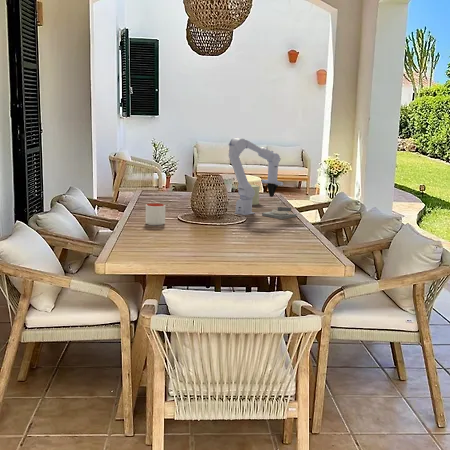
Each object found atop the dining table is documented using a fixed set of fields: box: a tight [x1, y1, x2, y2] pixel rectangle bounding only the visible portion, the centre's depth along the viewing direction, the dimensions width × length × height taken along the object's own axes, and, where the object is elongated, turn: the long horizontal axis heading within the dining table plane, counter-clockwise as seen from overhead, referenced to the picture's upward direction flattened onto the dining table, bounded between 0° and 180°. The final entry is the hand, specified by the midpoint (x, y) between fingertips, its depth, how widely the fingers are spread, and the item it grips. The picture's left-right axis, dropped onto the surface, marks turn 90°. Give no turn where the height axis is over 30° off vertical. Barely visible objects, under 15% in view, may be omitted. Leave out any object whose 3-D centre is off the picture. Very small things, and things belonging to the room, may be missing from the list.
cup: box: [145, 202, 166, 226], centre depth 310 cm, size 10×10×10 cm
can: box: [250, 184, 260, 206], centre depth 389 cm, size 9×9×12 cm
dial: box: [271, 206, 292, 215], centre depth 348 cm, size 11×9×4 cm
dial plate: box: [261, 210, 297, 220], centre depth 349 cm, size 14×14×2 cm
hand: (271, 196), depth 358 cm, fingers closed
